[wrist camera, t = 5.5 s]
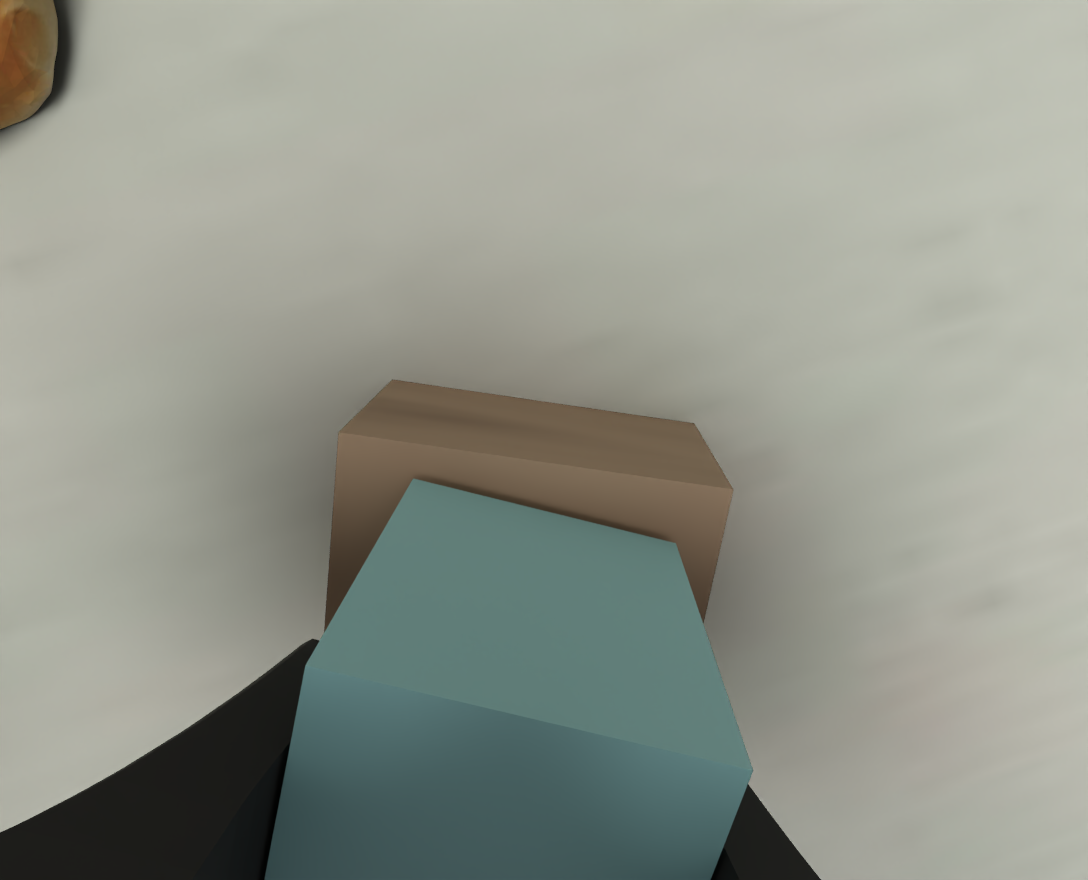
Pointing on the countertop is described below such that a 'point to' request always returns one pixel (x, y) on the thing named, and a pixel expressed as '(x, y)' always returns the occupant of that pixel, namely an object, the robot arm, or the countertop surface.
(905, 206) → the countertop surface
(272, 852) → the teal block
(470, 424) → the walnut block
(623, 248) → the countertop surface
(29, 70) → the pastry
